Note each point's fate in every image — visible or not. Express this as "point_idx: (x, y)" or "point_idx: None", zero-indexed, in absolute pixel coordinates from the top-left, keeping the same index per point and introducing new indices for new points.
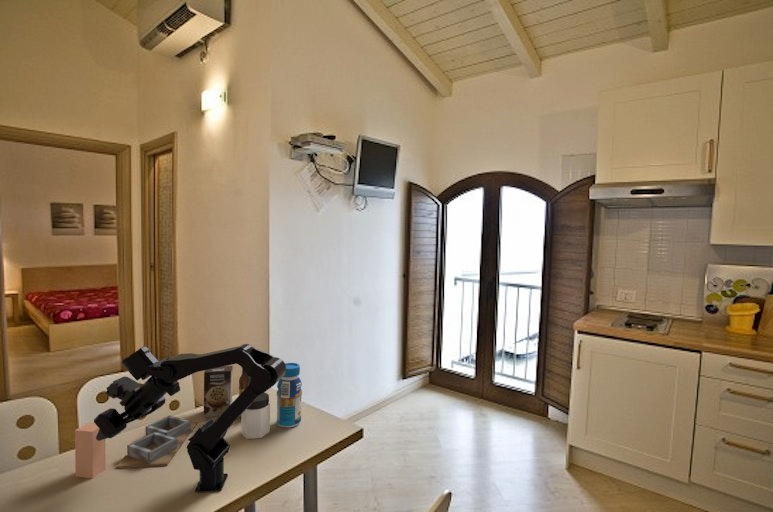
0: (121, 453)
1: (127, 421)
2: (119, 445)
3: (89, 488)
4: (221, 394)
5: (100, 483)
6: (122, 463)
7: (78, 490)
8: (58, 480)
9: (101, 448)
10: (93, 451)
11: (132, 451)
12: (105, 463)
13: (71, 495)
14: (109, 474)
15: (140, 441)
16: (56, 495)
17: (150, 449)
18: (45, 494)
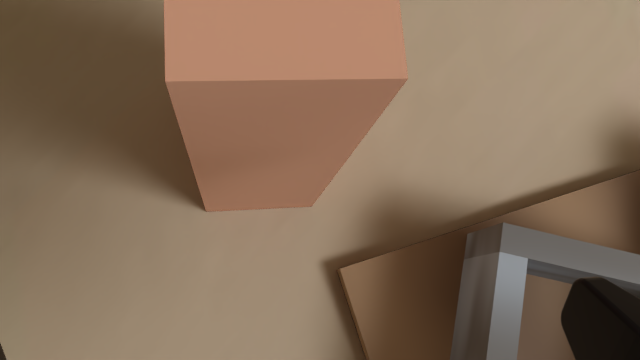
0: (490, 155)
1: (583, 341)
2: (559, 66)
3: (101, 286)
4: None
5: (164, 311)
6: (378, 283)
7: (71, 232)
8: (149, 19)
9: (296, 167)
10: (200, 165)
11: (477, 290)
12: (317, 198)
13: (14, 234)
14: (267, 282)
15: (585, 273)
16: (3, 139)
17: None
18: (5, 65)
